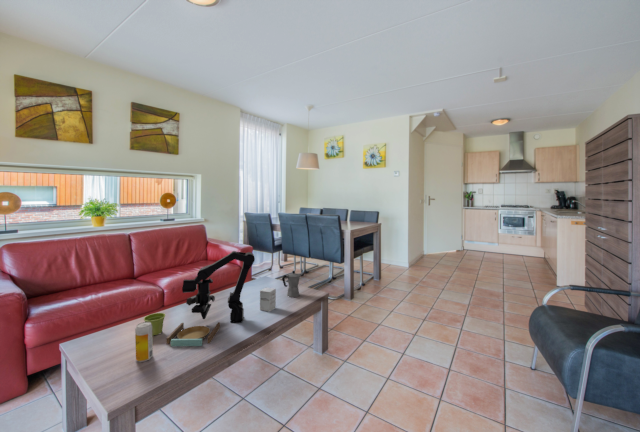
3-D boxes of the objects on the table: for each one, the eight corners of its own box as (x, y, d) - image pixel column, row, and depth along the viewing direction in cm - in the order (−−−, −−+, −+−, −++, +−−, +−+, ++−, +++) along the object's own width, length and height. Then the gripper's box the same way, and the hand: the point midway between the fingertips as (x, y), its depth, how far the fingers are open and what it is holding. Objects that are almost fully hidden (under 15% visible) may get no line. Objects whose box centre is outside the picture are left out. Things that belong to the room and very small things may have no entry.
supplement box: (259, 310, 169) (259, 290, 169) (266, 306, 176) (266, 286, 176) (269, 312, 167) (269, 292, 166) (276, 307, 174) (276, 288, 173)
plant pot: (155, 338, 133) (155, 321, 133) (139, 336, 135) (139, 319, 134) (169, 330, 142) (169, 313, 142) (154, 328, 144) (154, 312, 144)
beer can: (141, 354, 119) (140, 321, 118) (155, 354, 120) (154, 321, 119) (132, 363, 113) (131, 328, 112) (148, 362, 114) (147, 327, 113)
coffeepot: (298, 292, 204) (298, 268, 203) (304, 295, 196) (304, 271, 195) (279, 295, 196) (279, 270, 195) (284, 299, 188) (285, 274, 187)
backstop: (202, 344, 128) (202, 338, 128) (201, 345, 127) (201, 339, 127) (171, 345, 127) (171, 339, 127) (170, 346, 126) (170, 340, 126)
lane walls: (220, 327, 145) (220, 322, 145) (209, 343, 129) (209, 337, 129) (181, 328, 144) (181, 322, 144) (166, 344, 128) (166, 338, 128)
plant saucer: (179, 333, 140) (179, 328, 140) (210, 328, 145) (210, 323, 145) (175, 347, 126) (175, 342, 126) (209, 342, 131) (209, 336, 131)
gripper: (195, 285, 157) (195, 312, 158) (180, 297, 139) (181, 326, 140) (215, 285, 158) (215, 311, 159) (203, 297, 139) (203, 326, 140)
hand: (204, 318), depth 149 cm, fingers closed
